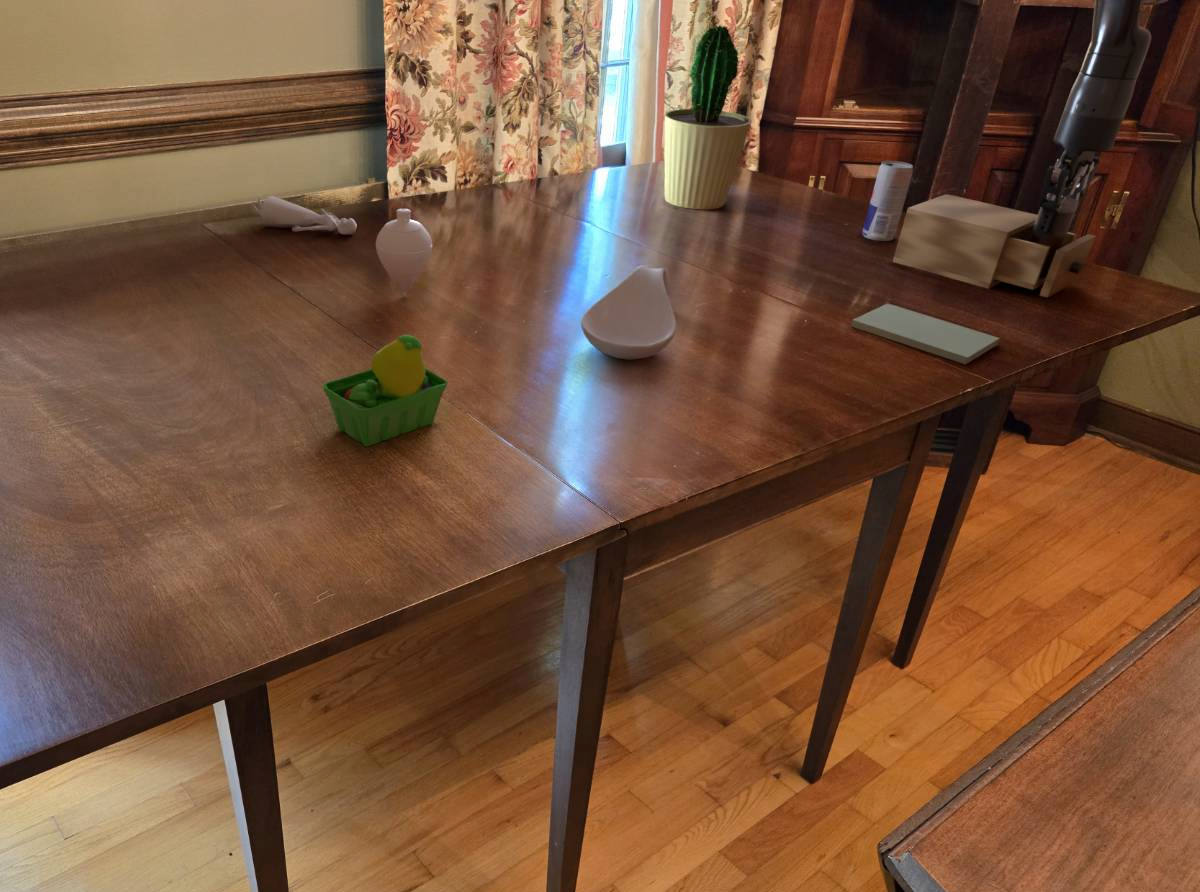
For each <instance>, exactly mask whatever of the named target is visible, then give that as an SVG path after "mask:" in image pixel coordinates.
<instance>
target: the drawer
mask: <svg viewBox="0 0 1200 892" xmlns="http://www.w3.org/2000/svg"><path fill="white" fill-rule="evenodd" d="M1033 227H1034V225H1033V226H1031V227H1028V228H1026V229H1024V230H1022V231H1020V232H1017V233H1015V234H1013V235H1011V236H1009V237H1008V239H1007V242H1006V245H1005V248H1004V250H1003V253H1002V256H1001V259H1000V262H999V265H998V268H997V271H996V273H995V276H994V279H995V280H999V281H1002V282H1003V283H1006V284H1010V285H1013V286H1017V287H1021V288H1025V289H1029V290H1032V291H1034V290H1035V289H1037V288H1039V287H1041V286H1042V288H1041V290H1040V292H1039V296H1040V297H1044V298H1047V299H1048V298H1050V297H1051V296H1053V295H1055V294H1057V293H1058V292H1060V291H1062V290H1064V289H1065V288H1067V287H1068V286H1070V285H1073V284H1074V283H1075V282H1077V281H1079V280H1080V277H1081V274H1082V272H1083V269H1084V267H1085V264H1086V263H1087V260H1088V257H1089V255H1090V252H1091V250H1092V248H1093V245H1094V243H1095V239H1096V237H1097V236H1096V235H1094V234H1089V233H1087V234H1085V235H1083V236H1081V237H1079V238H1077V239H1076V237H1077V234H1076V233H1073V232H1069V231H1068V232H1067V235H1066V238H1065V240H1064V243H1063V245H1062V248H1060V249H1058V250H1057V251H1056V253H1055V256H1054V259H1053V261H1052V264H1051V267H1050V269H1049V272H1048V274H1047V277H1046V278H1039V277H1040V274H1041V271H1042V269H1043V266H1044V263H1045V261H1046V258H1047V255H1048V253H1049V250H1050V247H1049V246H1045V245H1040V244H1036V243H1032V242H1028V241H1029V238H1030V235H1031V232H1032V230H1033ZM1002 282H1001V283H1002Z"/></svg>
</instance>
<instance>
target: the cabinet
mask: <svg viewBox="0 0 1200 892" xmlns="http://www.w3.org/2000/svg"><path fill="white" fill-rule="evenodd" d="M1037 216H1038V214H1035V213H1030V212H1027V211H1021V210H1017V209H1014V208H1010V207H1005V206H1000V205H996V204H992V203H987V202H982V201H979V200H974V199H969V198H966V197H961V196H956V195H952V194H948V193H945V194H943V195H940V196H937V197H935V198H931V199H929V200H926V201H923V202H920V203H917V204H915V205H912V206H909V207H908V208H907V210H906V214H905V216H904V219H903V220H904V221H903V224H902V226H901V227H902V228H901V231H900V235H899V237H898V241H897V246H896V248H895V252H894V254H893V255H894V256H893V260H892V262H893V263H895V264H898V265H903V266H906V267H910V268H913V269H916V270H920V271H923V272H928V273H929V274H934V275H938V276H941V277H944V278H948V279H951V280H955V281H959V282H962V283H967V284H970V285H974V286H976V287H980V288H984V289H988V290H989V289H991V288H993V287H995V286H996V285H999V284H1001V283H1002V281H999V280H995V279H994V276H995V273H996V271H997V268H998V265H999V262H1000V259H1001V256H1002V253H1003V250H1004V248H1005V245H1006V242H1007V239H1008V237H1009V236H1011V235H1013V234H1015V233H1017V232H1020V231H1022V230H1024V229H1026V228H1028V227H1031V226H1033V225H1034V224H1035V221H1036V219H1037Z"/></svg>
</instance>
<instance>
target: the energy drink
mask: <svg viewBox="0 0 1200 892" xmlns="http://www.w3.org/2000/svg"><path fill="white" fill-rule="evenodd" d="M913 167H914V165H913V164H911V163H908V162H904V161H899V160H898V161H897V160H885V161H882V162H881V164H880V166H879V168H878V170H877V171H878V172H877V175H876V178H875V183H874V187H873V190H872V194H871V198H870V201H869V205H868V209H867V214H866V217H865V220H864V224H863V228H862V236H863V237H864V238H866V239H868V240H872V241H876V242H877V241H878V242H891V241H893V240H894V239H895V238H896V234H897V231H898V226H899V223H900V220H901V216H902V212H903V208H904V205H905V203H906V202H905V201H906V198H907V195H908V191H909V188H910V184H911V181H912V177H913V173H914V170H913V169H914V168H913Z"/></svg>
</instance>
